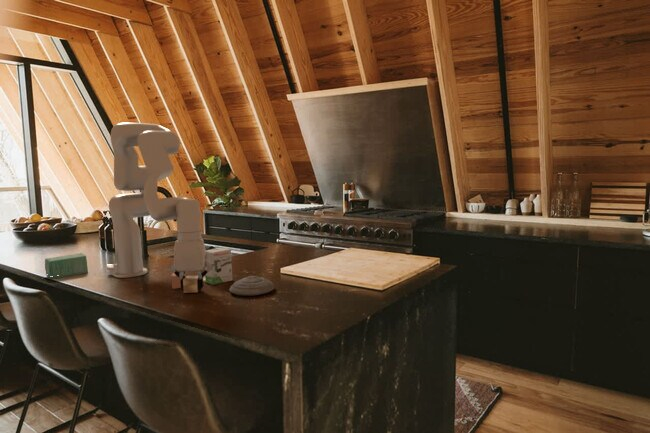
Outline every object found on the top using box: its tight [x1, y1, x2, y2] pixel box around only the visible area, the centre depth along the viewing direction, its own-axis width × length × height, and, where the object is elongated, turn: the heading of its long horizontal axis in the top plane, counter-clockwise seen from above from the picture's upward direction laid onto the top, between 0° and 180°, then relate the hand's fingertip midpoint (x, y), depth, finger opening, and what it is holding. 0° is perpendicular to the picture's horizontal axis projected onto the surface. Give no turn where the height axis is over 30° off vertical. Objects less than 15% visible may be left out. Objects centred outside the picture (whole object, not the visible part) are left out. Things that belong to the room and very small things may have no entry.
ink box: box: [204, 247, 233, 285], centre depth 169 cm, size 9×5×12 cm, turn 136°
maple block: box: [183, 275, 199, 294], centre depth 157 cm, size 4×4×4 cm
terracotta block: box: [170, 272, 187, 289], centre depth 164 cm, size 4×4×4 cm
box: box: [44, 252, 89, 280], centre depth 186 cm, size 7×14×8 cm, turn 133°
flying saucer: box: [228, 275, 276, 297], centre depth 156 cm, size 15×15×6 cm
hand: (192, 289), depth 157 cm, fingers closed on maple block, 4 cm apart
